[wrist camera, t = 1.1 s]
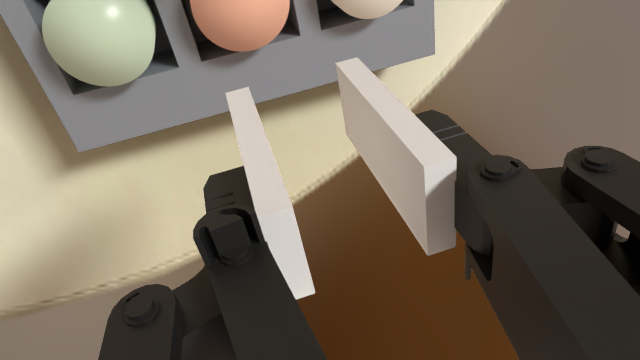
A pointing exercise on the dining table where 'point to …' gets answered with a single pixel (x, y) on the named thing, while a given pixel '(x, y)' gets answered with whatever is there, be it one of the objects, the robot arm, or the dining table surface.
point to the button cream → (367, 7)
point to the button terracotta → (240, 21)
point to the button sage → (100, 38)
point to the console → (216, 64)
